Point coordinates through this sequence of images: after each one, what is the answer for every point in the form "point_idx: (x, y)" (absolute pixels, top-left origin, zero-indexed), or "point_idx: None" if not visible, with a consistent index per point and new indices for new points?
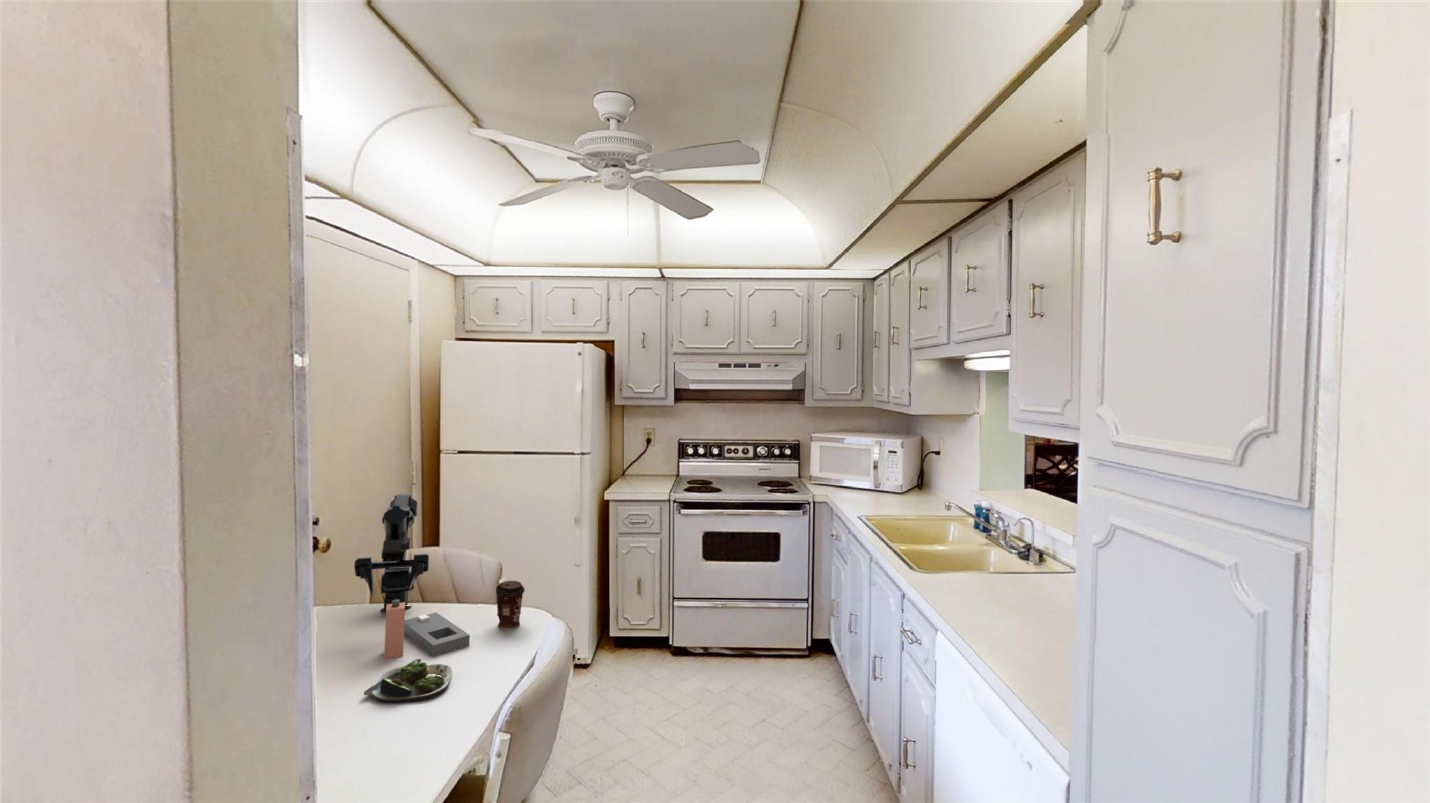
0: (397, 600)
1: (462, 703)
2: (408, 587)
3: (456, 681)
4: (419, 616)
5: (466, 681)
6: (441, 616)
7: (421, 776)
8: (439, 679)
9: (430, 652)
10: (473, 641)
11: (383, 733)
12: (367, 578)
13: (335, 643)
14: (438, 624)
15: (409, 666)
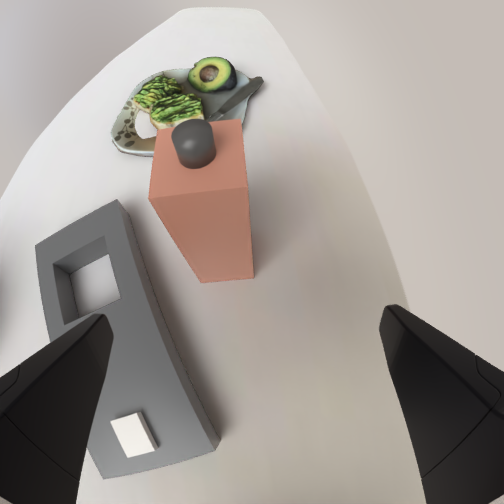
0: (183, 133)
1: (128, 72)
2: (96, 317)
3: (116, 114)
4: (146, 445)
5: (103, 114)
6: None
7: (192, 13)
8: (140, 90)
9: (131, 225)
10: None
11: (224, 39)
12: (490, 367)
13: None
14: None
15: (183, 110)
